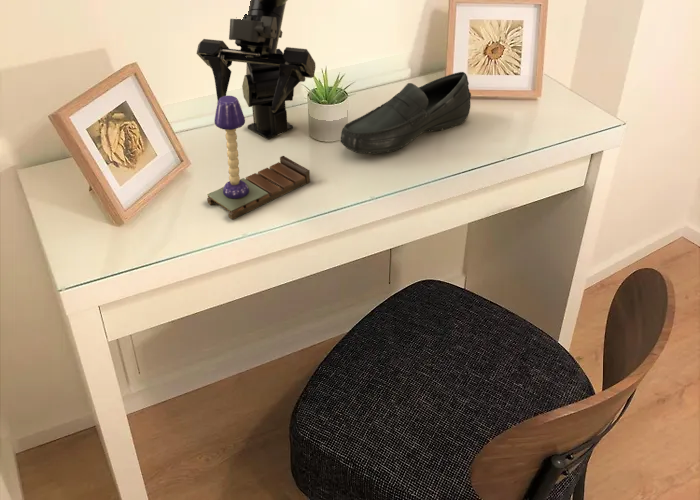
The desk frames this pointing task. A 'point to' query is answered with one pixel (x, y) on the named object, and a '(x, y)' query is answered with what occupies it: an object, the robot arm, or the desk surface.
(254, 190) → the toy bed
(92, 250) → the desk surface
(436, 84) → the loafer
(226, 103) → the toy lamp
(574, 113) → the desk surface
